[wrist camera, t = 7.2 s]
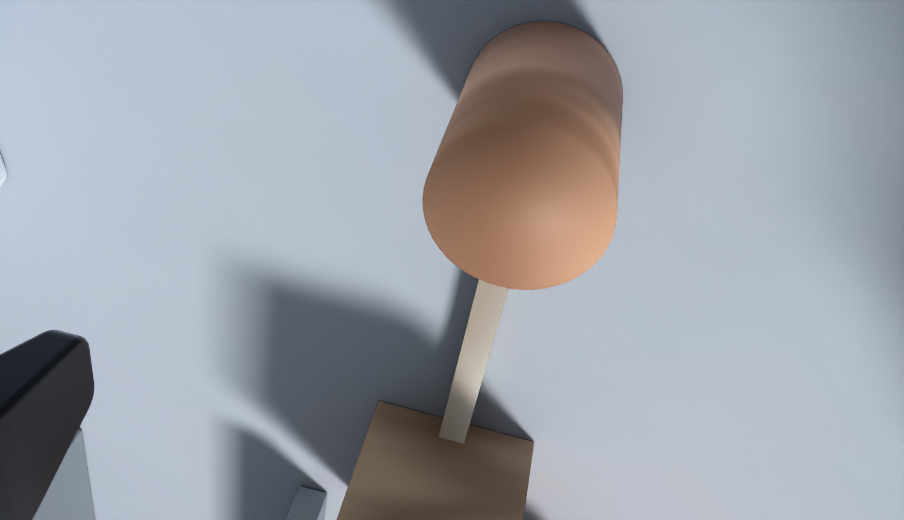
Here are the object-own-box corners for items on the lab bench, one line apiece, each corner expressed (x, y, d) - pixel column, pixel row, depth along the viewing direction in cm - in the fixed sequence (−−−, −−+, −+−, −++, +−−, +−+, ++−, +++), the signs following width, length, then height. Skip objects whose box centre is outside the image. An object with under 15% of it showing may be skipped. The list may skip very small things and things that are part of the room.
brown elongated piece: (674, 50, 19) (684, 193, 14) (500, 536, 30) (472, 709, 25) (452, -4, 19) (387, 118, 14) (360, 498, 30) (305, 662, 25)
